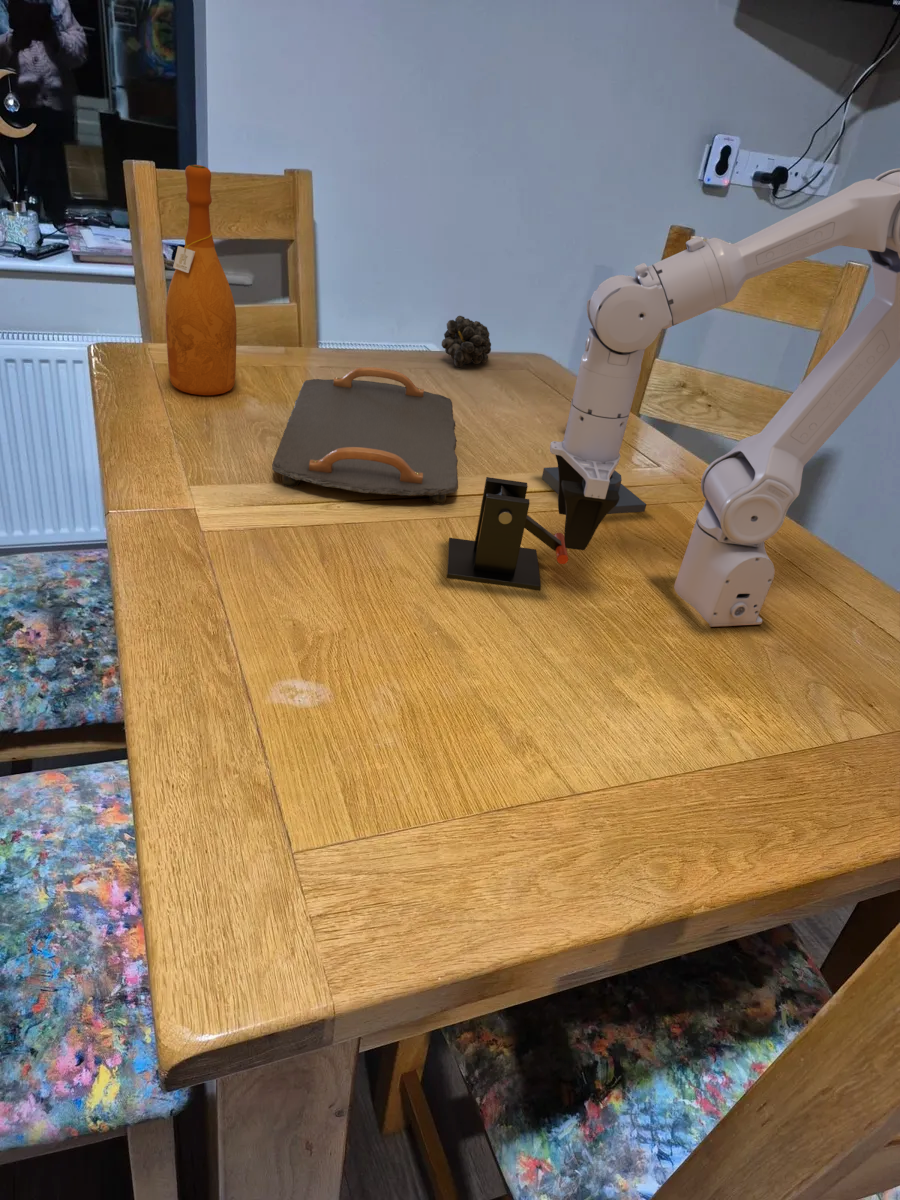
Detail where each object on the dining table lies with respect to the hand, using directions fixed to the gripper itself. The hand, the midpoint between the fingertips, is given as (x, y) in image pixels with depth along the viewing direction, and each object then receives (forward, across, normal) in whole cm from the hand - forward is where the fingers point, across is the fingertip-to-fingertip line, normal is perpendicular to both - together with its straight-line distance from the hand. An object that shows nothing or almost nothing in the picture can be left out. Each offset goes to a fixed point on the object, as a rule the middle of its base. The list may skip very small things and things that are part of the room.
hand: (571, 530), depth 88 cm
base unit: (+6, -23, +6) cm, 25 cm away
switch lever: (+1, 0, -5) cm, 5 cm away
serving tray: (+6, -29, -24) cm, 38 cm away
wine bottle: (+6, -43, -51) cm, 67 cm away
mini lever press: (+6, 0, -8) cm, 10 cm away
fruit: (+3, -78, -14) cm, 80 cm away
